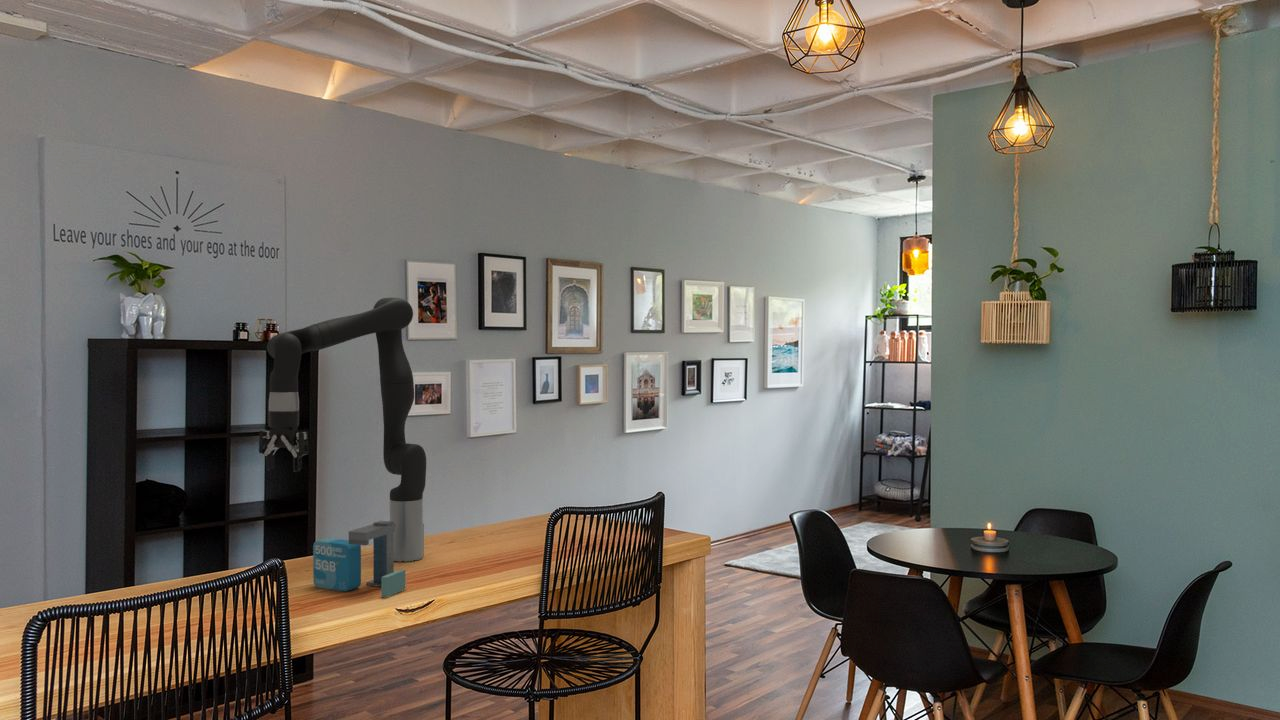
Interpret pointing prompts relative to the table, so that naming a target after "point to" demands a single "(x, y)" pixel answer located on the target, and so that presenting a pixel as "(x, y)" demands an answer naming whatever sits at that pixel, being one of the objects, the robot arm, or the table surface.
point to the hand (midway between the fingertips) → (283, 470)
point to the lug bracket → (377, 547)
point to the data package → (336, 564)
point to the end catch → (392, 583)
